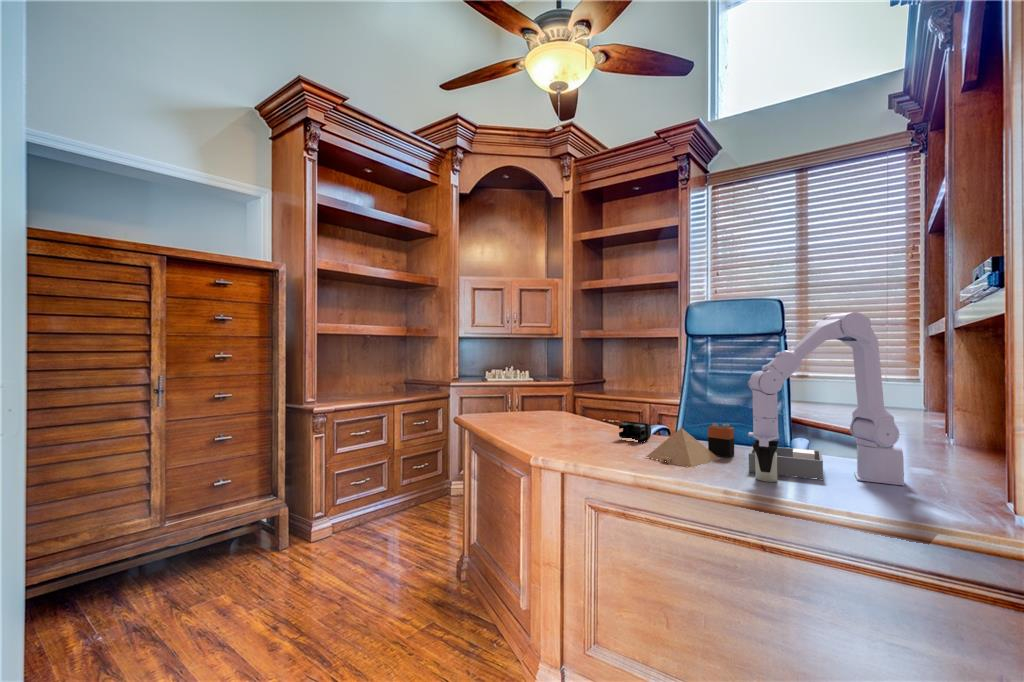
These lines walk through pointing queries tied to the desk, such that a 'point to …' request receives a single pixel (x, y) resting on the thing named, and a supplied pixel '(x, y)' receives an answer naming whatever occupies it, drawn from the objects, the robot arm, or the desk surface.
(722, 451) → the battery
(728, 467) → the desk surface
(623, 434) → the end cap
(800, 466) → the tote
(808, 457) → the cube
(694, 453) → the model pyramid
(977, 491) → the desk surface
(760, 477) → the cylinder
